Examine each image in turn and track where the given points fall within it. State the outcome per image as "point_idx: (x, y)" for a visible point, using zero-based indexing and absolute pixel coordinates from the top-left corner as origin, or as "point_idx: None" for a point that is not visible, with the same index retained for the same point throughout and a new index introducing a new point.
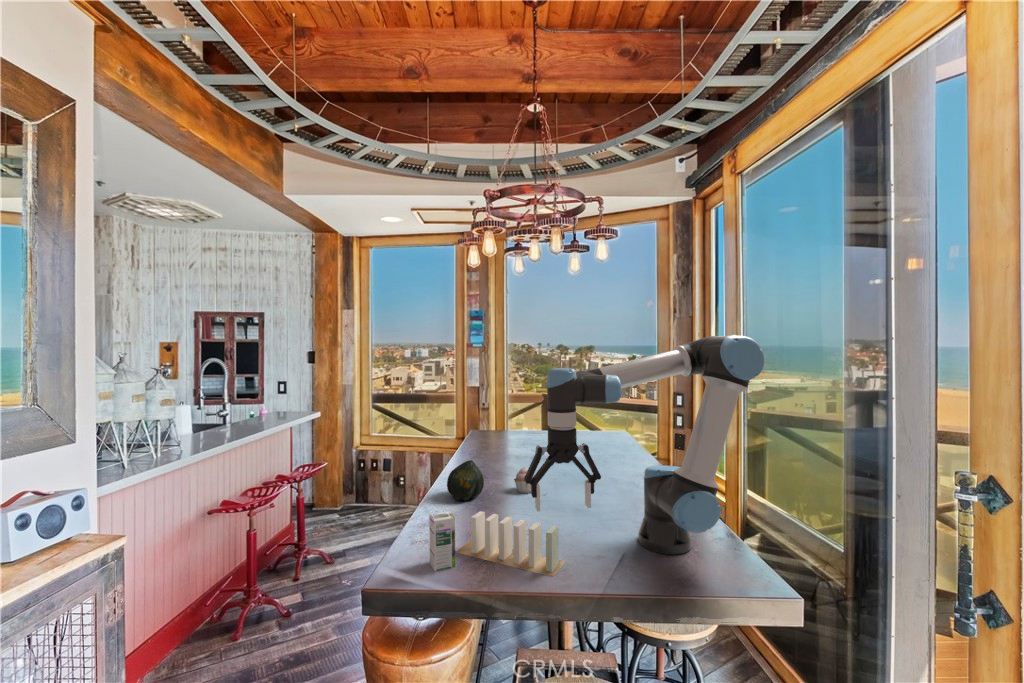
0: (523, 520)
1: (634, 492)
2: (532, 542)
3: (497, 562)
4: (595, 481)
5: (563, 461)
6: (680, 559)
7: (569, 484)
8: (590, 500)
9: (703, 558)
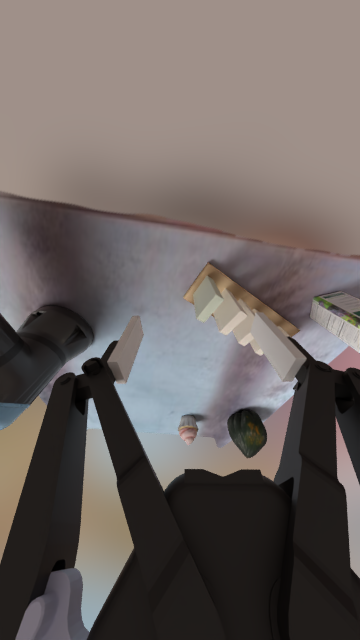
0: (243, 342)
1: (91, 408)
2: (236, 302)
3: (263, 304)
4: (85, 362)
5: (224, 487)
6: (46, 295)
7: (147, 422)
8: (128, 325)
9: (19, 294)
